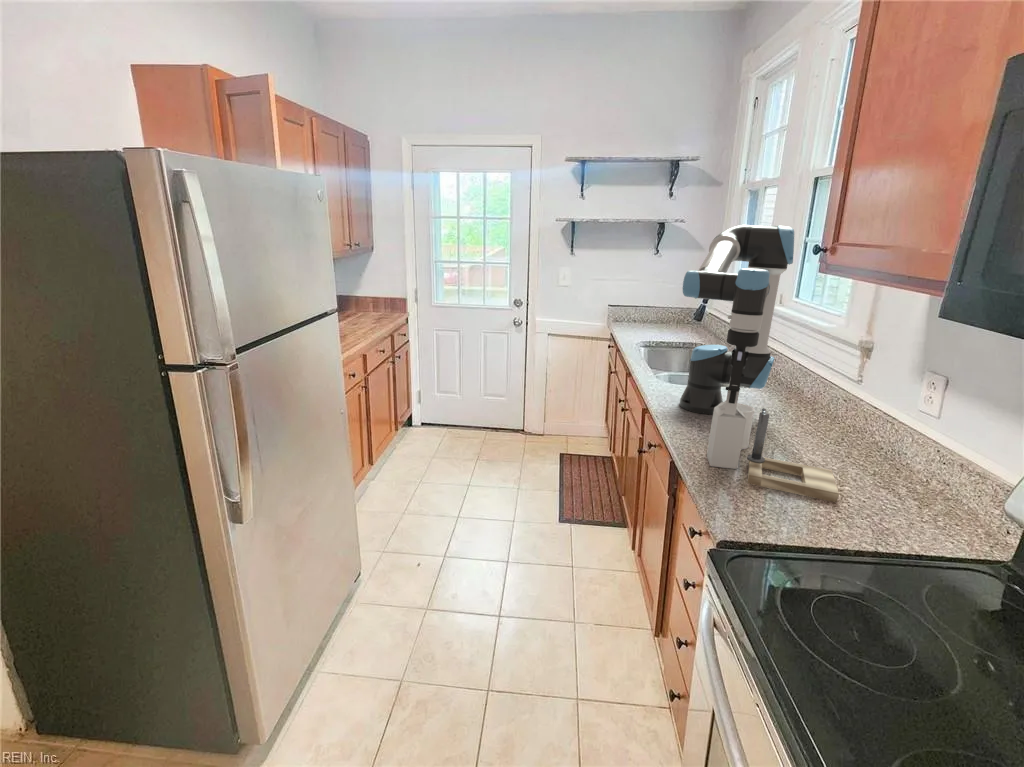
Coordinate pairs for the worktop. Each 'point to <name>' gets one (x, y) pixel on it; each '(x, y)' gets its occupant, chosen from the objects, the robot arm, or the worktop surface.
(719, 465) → the milk carton
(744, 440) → the mug
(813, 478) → the tan flat frame
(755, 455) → the metal door lever handle
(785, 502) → the worktop surface
